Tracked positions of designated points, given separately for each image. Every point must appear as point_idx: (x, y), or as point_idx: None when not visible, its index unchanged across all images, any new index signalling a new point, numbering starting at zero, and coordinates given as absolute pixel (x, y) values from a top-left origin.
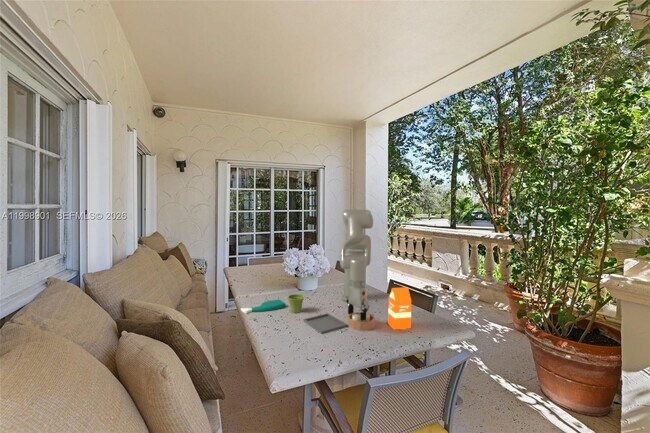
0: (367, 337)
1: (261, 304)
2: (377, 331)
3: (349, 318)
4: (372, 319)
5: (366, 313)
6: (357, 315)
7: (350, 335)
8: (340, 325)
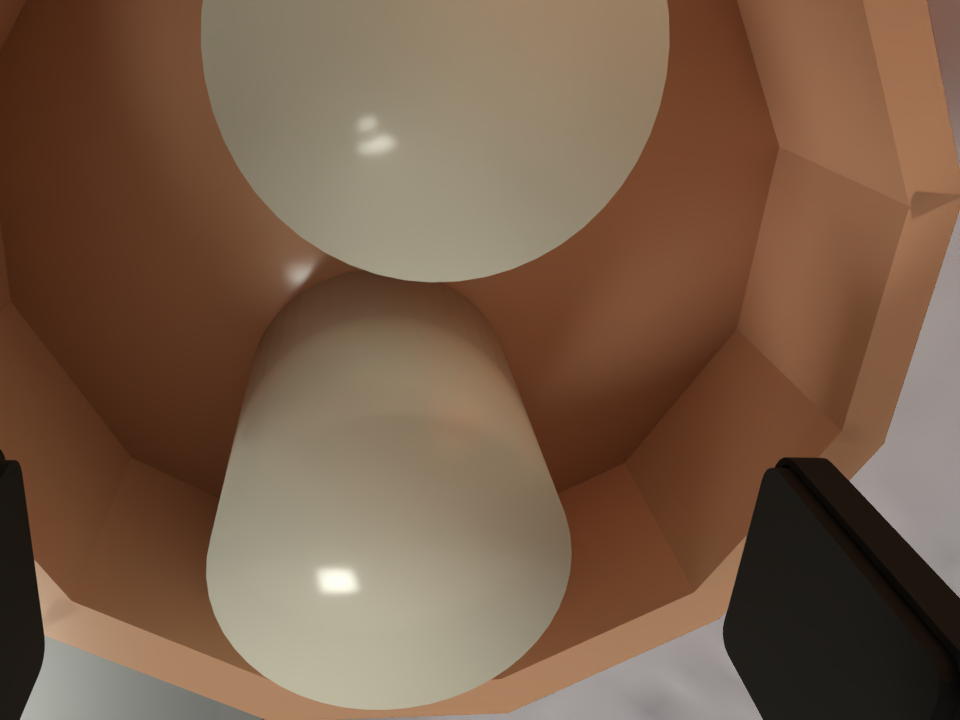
0: (916, 515)
1: None
2: (948, 107)
3: (275, 702)
4: (893, 122)
5: (491, 45)
6: (414, 547)
7: (617, 710)
8: (125, 675)
